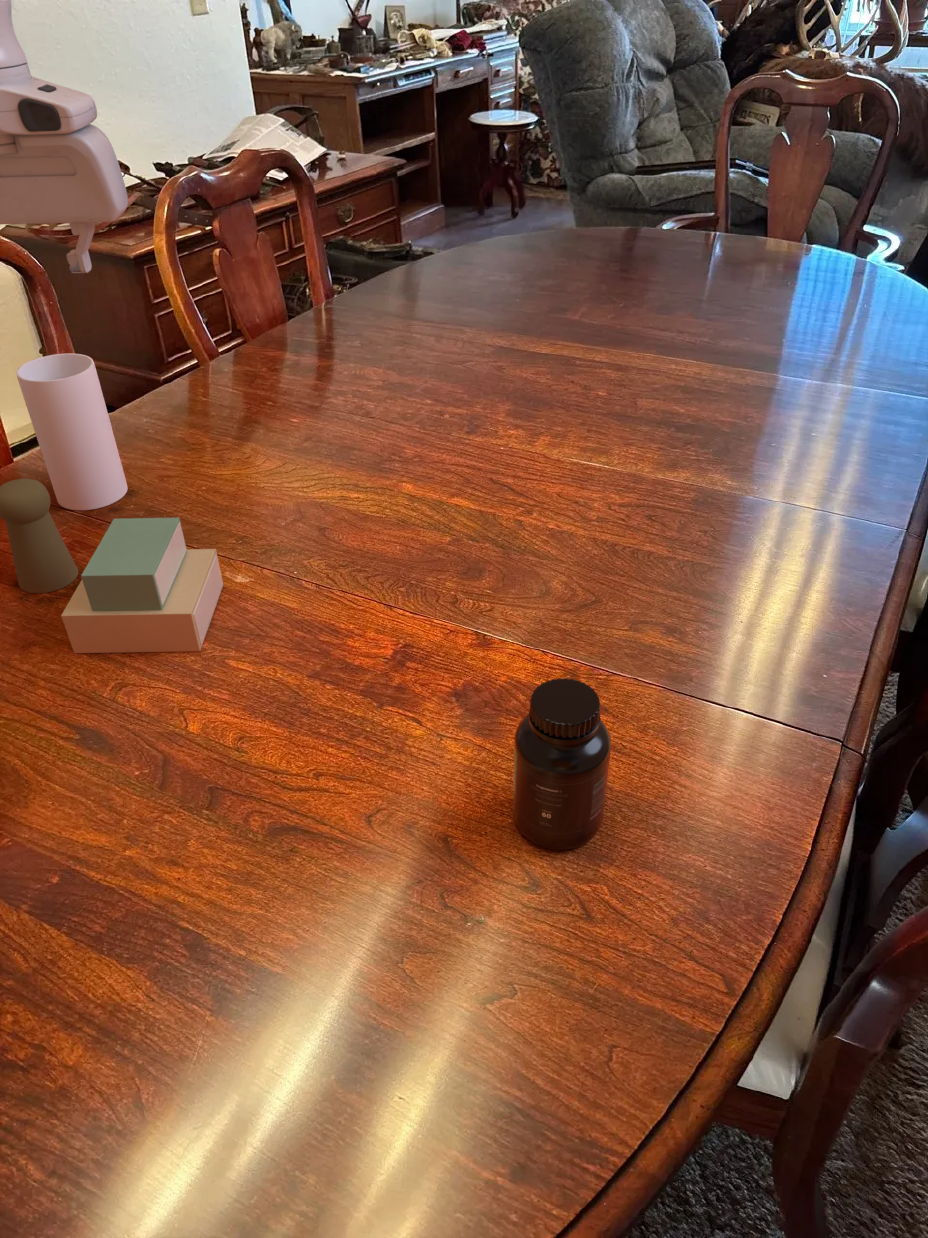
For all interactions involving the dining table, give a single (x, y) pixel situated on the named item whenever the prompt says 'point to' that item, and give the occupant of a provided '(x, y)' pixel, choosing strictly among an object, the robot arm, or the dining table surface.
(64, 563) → the olive pawn piece
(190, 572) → the tan flat block
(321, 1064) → the dining table surface
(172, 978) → the dining table surface
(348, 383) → the dining table surface
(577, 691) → the supplement bottle
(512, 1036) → the dining table surface
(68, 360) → the cup
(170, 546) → the sage green brick
